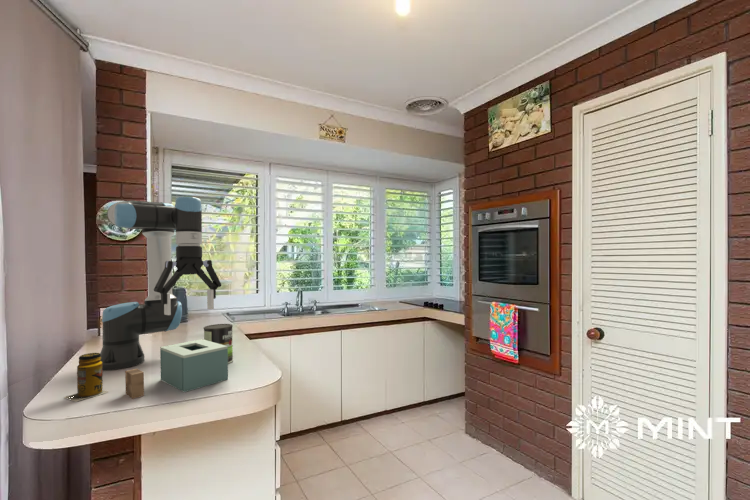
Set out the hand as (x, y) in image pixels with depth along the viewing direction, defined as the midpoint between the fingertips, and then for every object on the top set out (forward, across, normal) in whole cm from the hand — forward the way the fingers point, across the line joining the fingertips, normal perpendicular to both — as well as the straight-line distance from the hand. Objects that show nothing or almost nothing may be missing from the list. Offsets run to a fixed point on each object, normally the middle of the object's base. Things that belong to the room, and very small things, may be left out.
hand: (190, 311), depth 117 cm
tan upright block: (+23, -14, +6) cm, 28 cm away
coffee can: (+24, +18, +16) cm, 34 cm away
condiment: (+24, -22, +18) cm, 37 cm away
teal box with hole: (+23, +3, +4) cm, 24 cm away
